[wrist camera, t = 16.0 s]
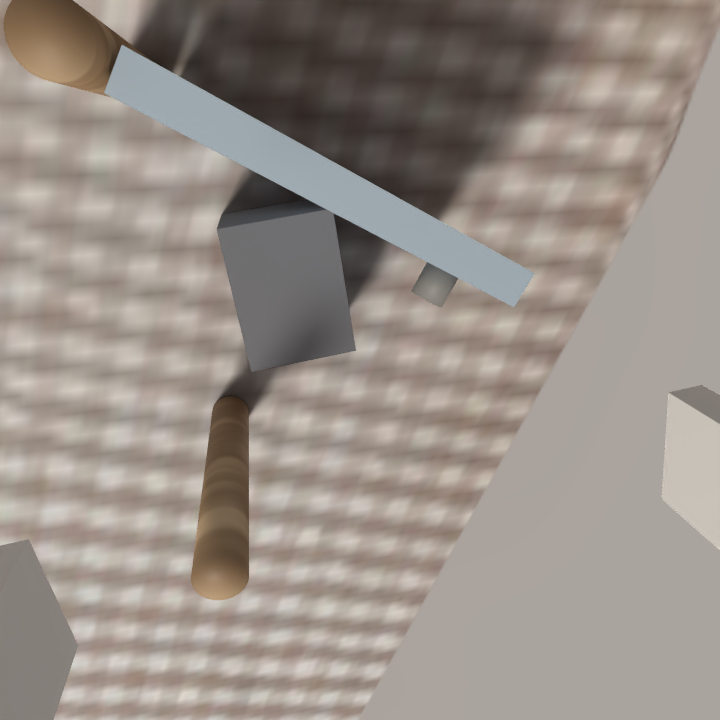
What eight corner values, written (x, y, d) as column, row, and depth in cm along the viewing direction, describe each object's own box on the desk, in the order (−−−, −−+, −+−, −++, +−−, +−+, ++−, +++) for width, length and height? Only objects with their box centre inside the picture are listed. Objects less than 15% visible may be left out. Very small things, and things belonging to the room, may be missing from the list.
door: (147, 144, 32) (82, 151, 19) (172, 80, 31) (122, 44, 18) (408, 276, 37) (489, 348, 25) (436, 225, 36) (534, 273, 24)
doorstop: (221, 214, 35) (216, 229, 29) (319, 197, 35) (332, 208, 30) (251, 337, 38) (251, 372, 32) (340, 319, 39) (355, 350, 33)
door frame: (112, 60, 31) (-10, -7, 16) (158, 53, 31) (78, -18, 16) (217, 431, 40) (199, 605, 25) (252, 423, 40) (254, 592, 25)
